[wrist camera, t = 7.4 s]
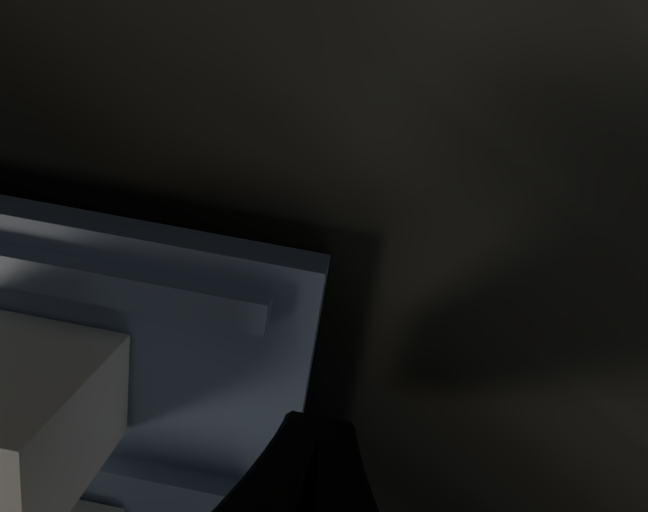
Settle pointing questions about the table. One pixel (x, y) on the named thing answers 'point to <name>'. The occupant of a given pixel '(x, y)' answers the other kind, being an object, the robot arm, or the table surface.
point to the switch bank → (174, 339)
